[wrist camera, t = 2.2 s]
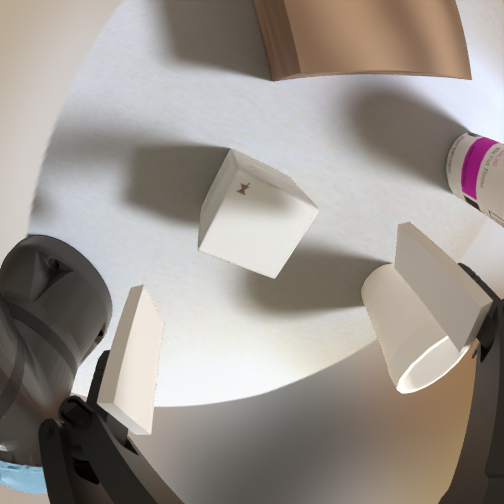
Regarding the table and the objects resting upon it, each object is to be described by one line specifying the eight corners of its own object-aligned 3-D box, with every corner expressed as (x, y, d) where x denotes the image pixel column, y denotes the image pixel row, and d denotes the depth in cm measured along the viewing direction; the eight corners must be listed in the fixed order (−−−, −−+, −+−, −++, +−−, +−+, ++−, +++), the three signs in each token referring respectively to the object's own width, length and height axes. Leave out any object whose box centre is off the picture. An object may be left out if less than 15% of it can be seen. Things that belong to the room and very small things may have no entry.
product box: (198, 208, 24) (193, 251, 18) (230, 146, 22) (236, 166, 15) (259, 234, 26) (275, 281, 20) (293, 178, 24) (322, 209, 17)
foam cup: (410, 298, 34) (459, 367, 23) (351, 323, 34) (392, 403, 23) (414, 241, 29) (483, 312, 18) (347, 267, 29) (404, 357, 18)
